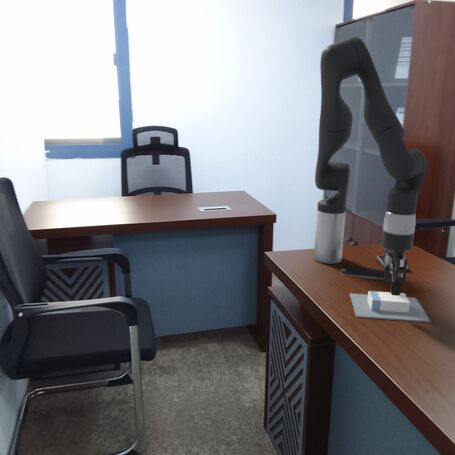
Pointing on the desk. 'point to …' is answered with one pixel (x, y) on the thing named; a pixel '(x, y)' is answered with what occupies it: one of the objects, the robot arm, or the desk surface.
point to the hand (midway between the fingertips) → (391, 288)
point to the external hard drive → (380, 260)
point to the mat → (364, 311)
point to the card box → (388, 301)
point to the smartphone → (363, 272)
